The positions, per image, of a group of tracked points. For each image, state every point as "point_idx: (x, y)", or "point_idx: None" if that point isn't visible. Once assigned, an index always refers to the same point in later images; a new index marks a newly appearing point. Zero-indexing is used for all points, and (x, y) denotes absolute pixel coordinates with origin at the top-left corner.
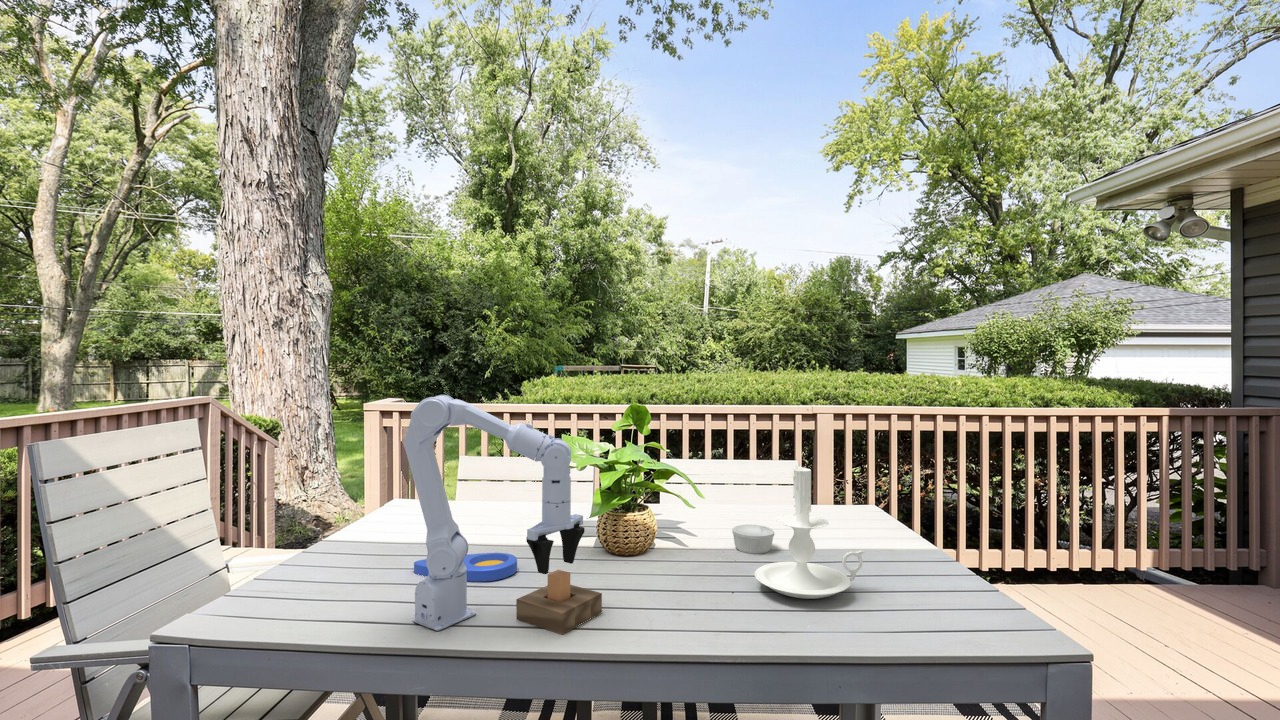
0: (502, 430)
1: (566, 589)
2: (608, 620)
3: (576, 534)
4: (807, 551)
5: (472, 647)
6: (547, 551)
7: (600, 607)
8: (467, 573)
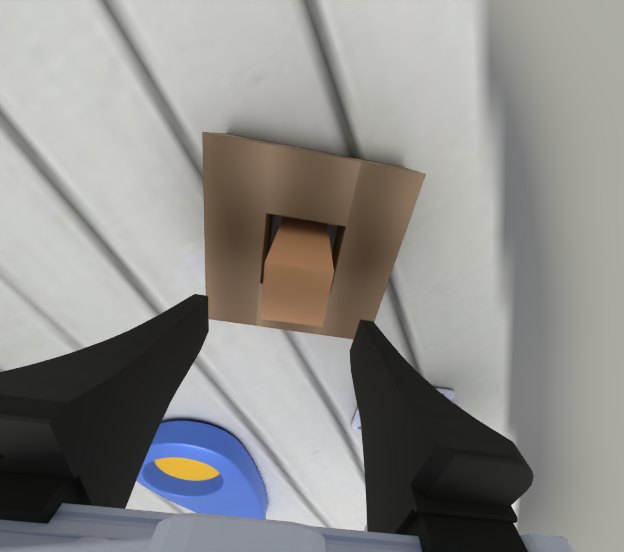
0: None
1: (295, 243)
2: (261, 79)
3: (95, 399)
4: None
5: (505, 311)
6: (433, 398)
7: (226, 134)
8: (246, 470)
